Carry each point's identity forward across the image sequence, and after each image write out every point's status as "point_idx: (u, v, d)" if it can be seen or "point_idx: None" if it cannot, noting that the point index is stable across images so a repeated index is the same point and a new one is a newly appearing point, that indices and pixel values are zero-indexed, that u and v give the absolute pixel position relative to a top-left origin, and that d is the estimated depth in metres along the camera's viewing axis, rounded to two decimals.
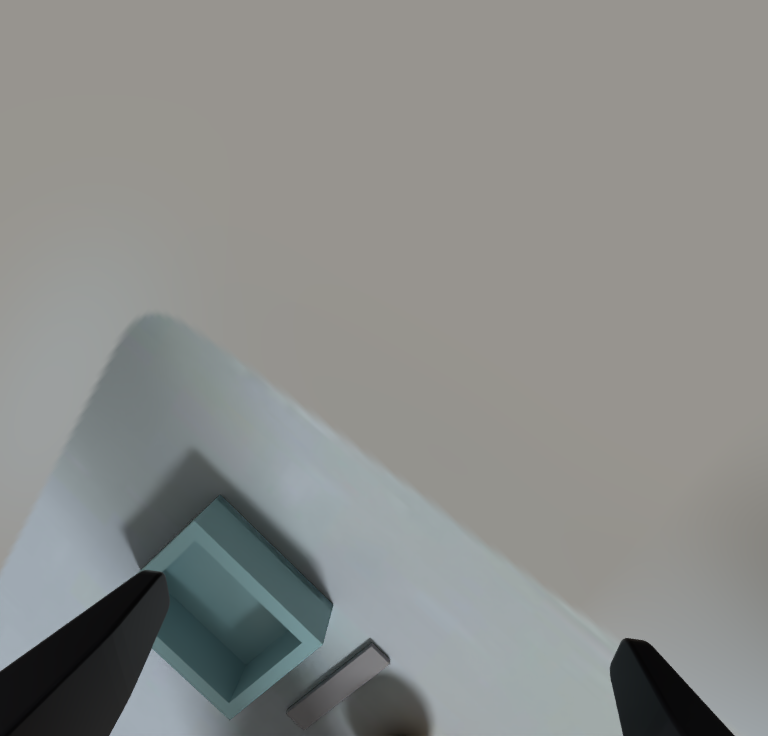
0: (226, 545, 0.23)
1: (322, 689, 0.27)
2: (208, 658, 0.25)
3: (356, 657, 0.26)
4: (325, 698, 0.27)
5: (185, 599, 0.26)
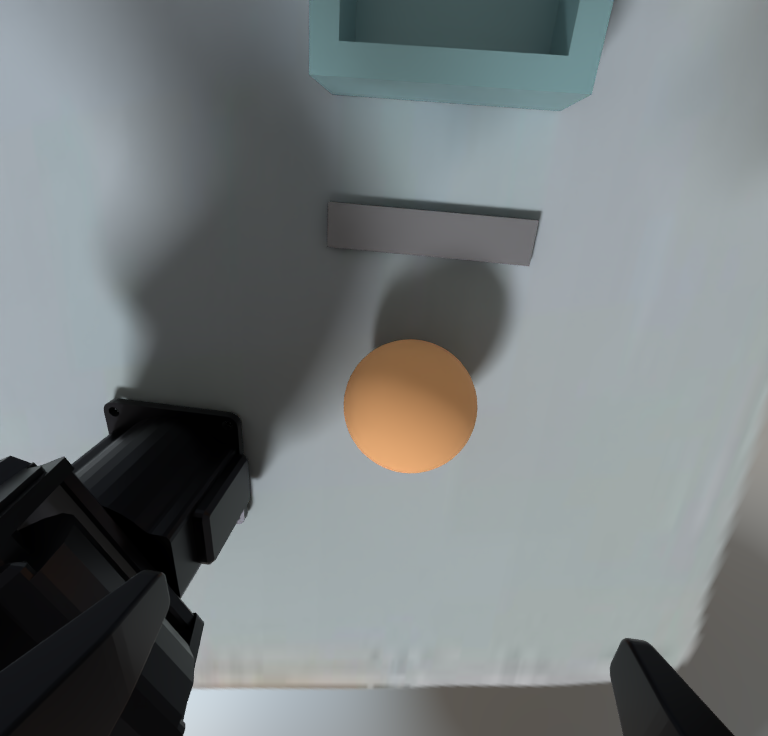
0: None
1: (411, 215, 0.15)
2: None
3: (501, 217, 0.15)
4: (402, 232, 0.16)
5: None
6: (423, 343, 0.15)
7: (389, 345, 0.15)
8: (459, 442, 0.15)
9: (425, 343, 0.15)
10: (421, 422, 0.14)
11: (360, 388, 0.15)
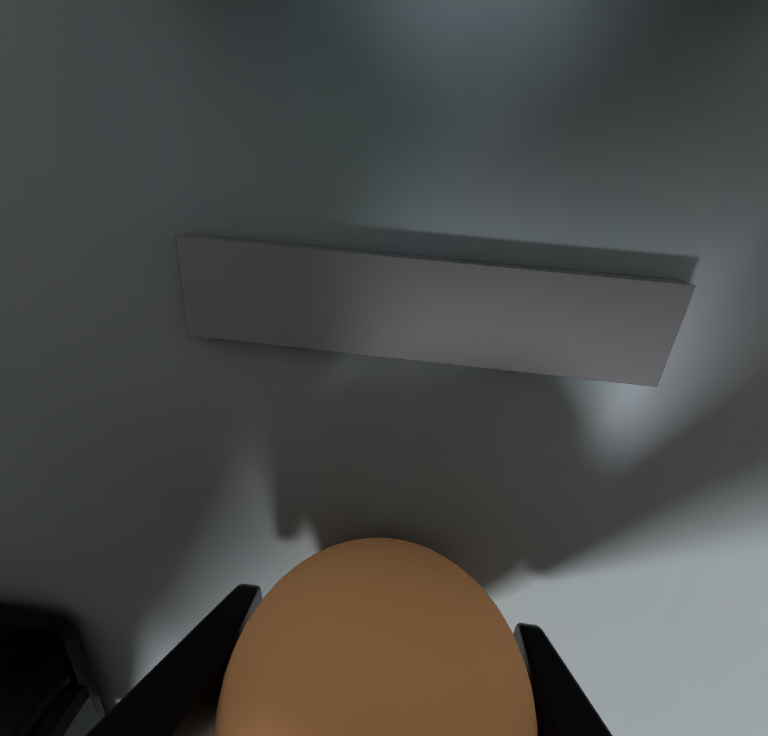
0: None
1: (377, 270, 0.06)
2: None
3: (599, 275, 0.06)
4: (356, 306, 0.07)
5: None
6: (405, 588, 0.06)
7: (322, 591, 0.06)
8: None
9: (411, 586, 0.06)
10: None
11: None
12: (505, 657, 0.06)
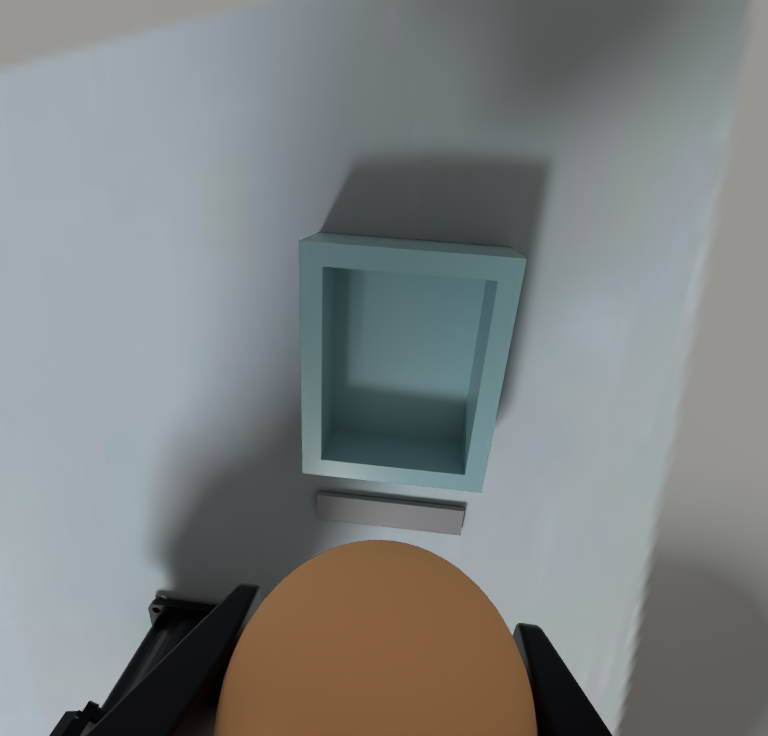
0: None
1: (376, 504, 0.22)
2: (327, 397, 0.18)
3: (438, 507, 0.22)
4: (369, 513, 0.22)
5: (345, 314, 0.18)
6: (405, 592, 0.06)
7: (321, 594, 0.06)
8: None
9: (410, 589, 0.06)
10: None
11: None
12: (505, 660, 0.06)
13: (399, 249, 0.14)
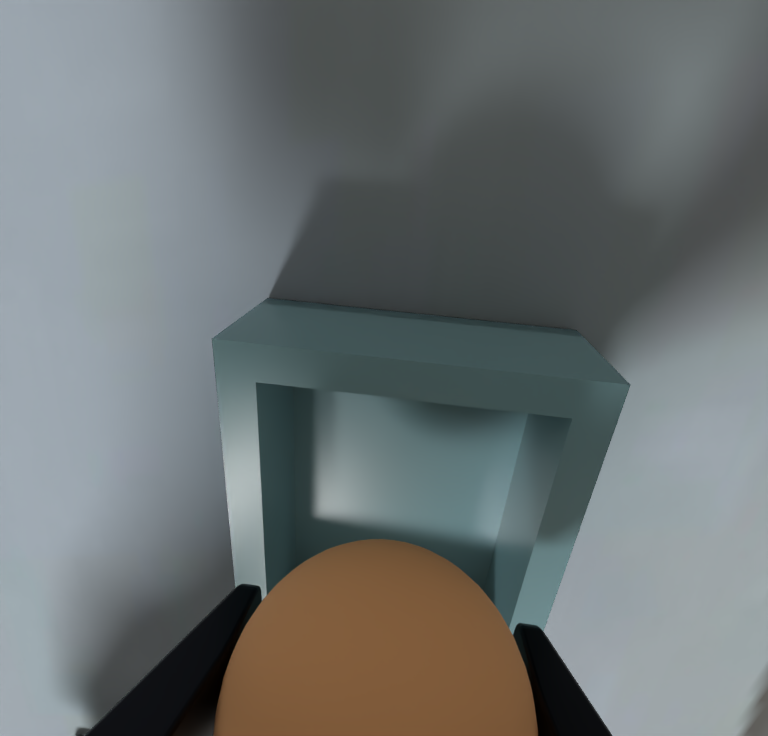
0: None
1: None
2: (280, 550, 0.12)
3: None
4: None
5: (310, 423, 0.11)
6: (405, 591, 0.06)
7: (321, 593, 0.06)
8: None
9: (410, 588, 0.06)
10: None
11: None
12: (505, 660, 0.06)
13: (393, 360, 0.08)
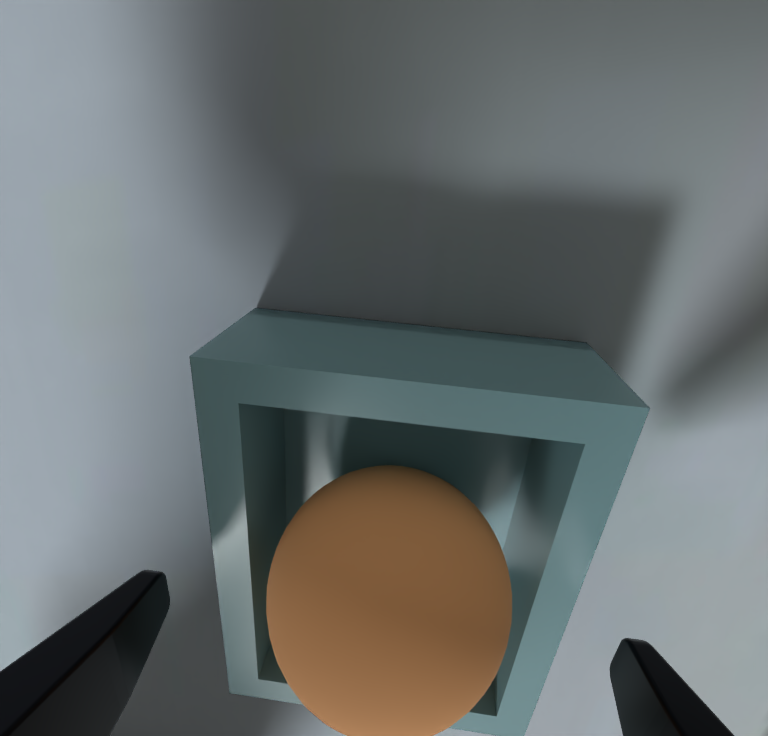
0: None
1: None
2: None
3: None
4: None
5: (302, 440, 0.11)
6: (412, 489, 0.08)
7: (348, 492, 0.08)
8: (482, 695, 0.07)
9: (415, 488, 0.08)
10: (406, 690, 0.07)
11: (286, 591, 0.07)
12: (487, 539, 0.08)
13: (388, 380, 0.07)
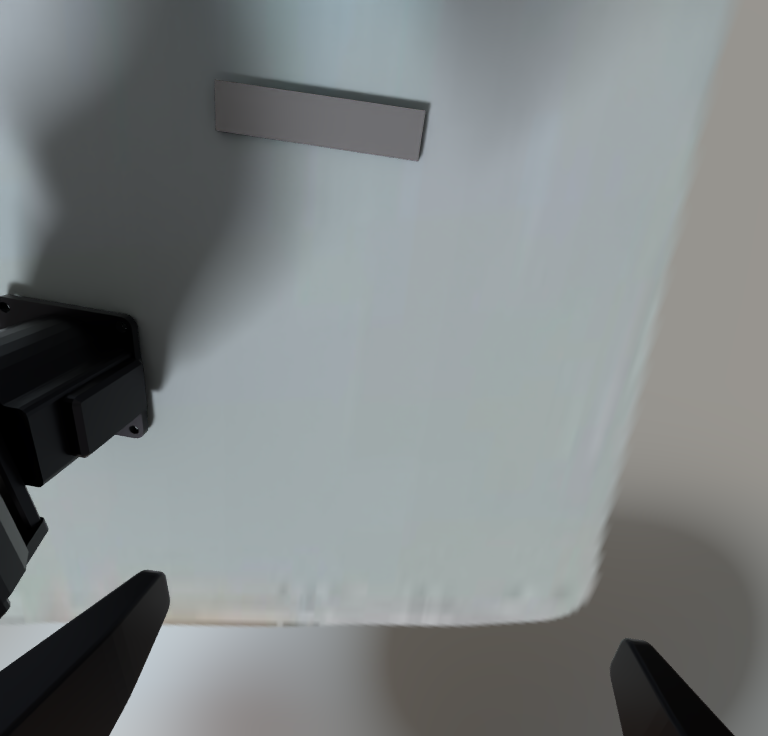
0: None
1: (299, 99, 0.15)
2: None
3: (389, 105, 0.15)
4: (290, 116, 0.15)
5: None
6: None
7: None
8: None
9: None
10: None
11: None
12: None
13: None
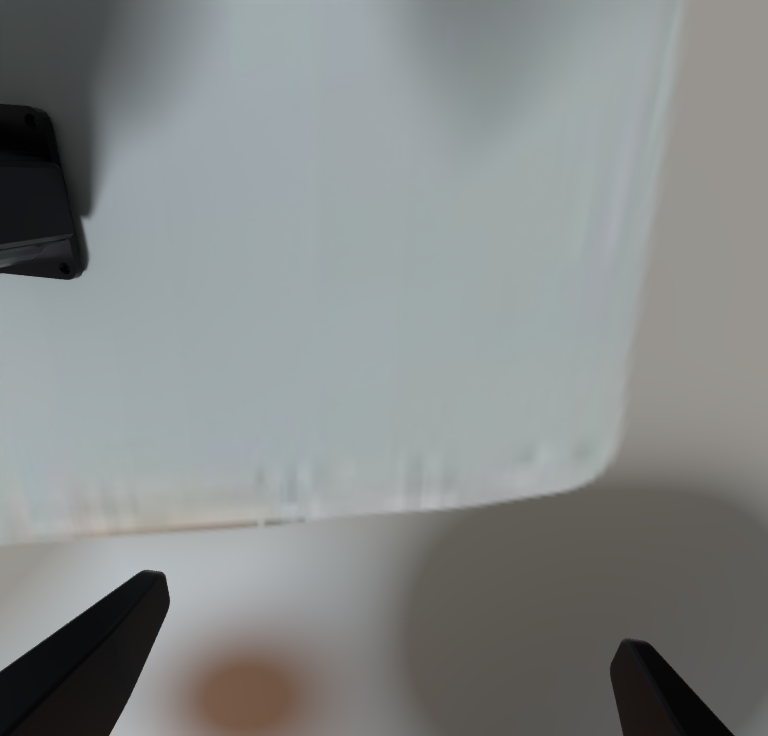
0: None
1: None
2: None
3: None
4: None
5: None
6: None
7: None
8: None
9: None
10: None
11: None
12: None
13: None
